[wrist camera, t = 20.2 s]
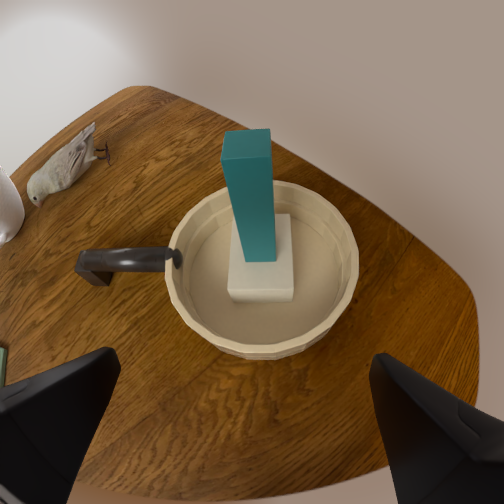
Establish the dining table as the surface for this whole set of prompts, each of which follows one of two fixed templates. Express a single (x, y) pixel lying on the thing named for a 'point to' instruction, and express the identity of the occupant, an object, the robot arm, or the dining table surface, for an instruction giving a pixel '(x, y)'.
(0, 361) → the mat
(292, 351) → the pan
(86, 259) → the pan handle
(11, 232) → the mug
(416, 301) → the dining table surface
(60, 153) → the decorative bird
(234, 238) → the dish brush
